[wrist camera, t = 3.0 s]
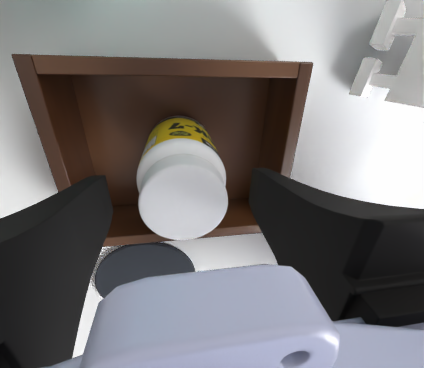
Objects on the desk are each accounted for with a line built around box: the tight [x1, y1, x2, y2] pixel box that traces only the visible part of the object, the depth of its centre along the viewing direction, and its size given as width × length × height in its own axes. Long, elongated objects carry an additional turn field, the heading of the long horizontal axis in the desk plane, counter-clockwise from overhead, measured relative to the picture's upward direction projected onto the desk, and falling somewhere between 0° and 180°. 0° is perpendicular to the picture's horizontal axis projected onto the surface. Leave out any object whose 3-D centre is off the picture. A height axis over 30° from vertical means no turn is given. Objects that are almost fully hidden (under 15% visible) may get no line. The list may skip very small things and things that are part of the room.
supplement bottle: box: [136, 116, 228, 240], centre depth 14 cm, size 5×5×8 cm
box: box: [12, 54, 313, 247], centre depth 16 cm, size 15×12×4 cm
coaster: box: [95, 242, 195, 298], centre depth 24 cm, size 10×10×1 cm
